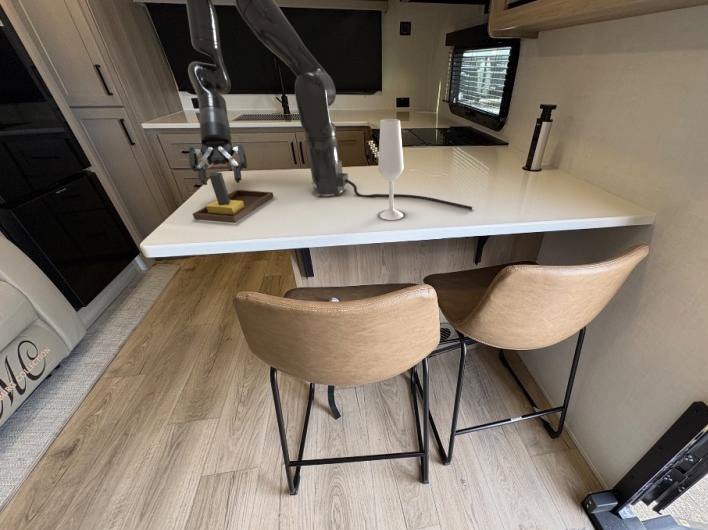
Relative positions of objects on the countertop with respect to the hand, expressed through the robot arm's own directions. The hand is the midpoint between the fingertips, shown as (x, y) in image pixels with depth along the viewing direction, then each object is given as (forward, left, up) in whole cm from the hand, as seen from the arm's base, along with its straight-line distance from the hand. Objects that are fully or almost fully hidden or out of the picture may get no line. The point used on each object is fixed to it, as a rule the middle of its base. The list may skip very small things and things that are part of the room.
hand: (221, 182), depth 92 cm
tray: (-1, -2, -8) cm, 9 cm away
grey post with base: (-1, +2, -8) cm, 8 cm away
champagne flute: (-47, -7, -9) cm, 48 cm away
